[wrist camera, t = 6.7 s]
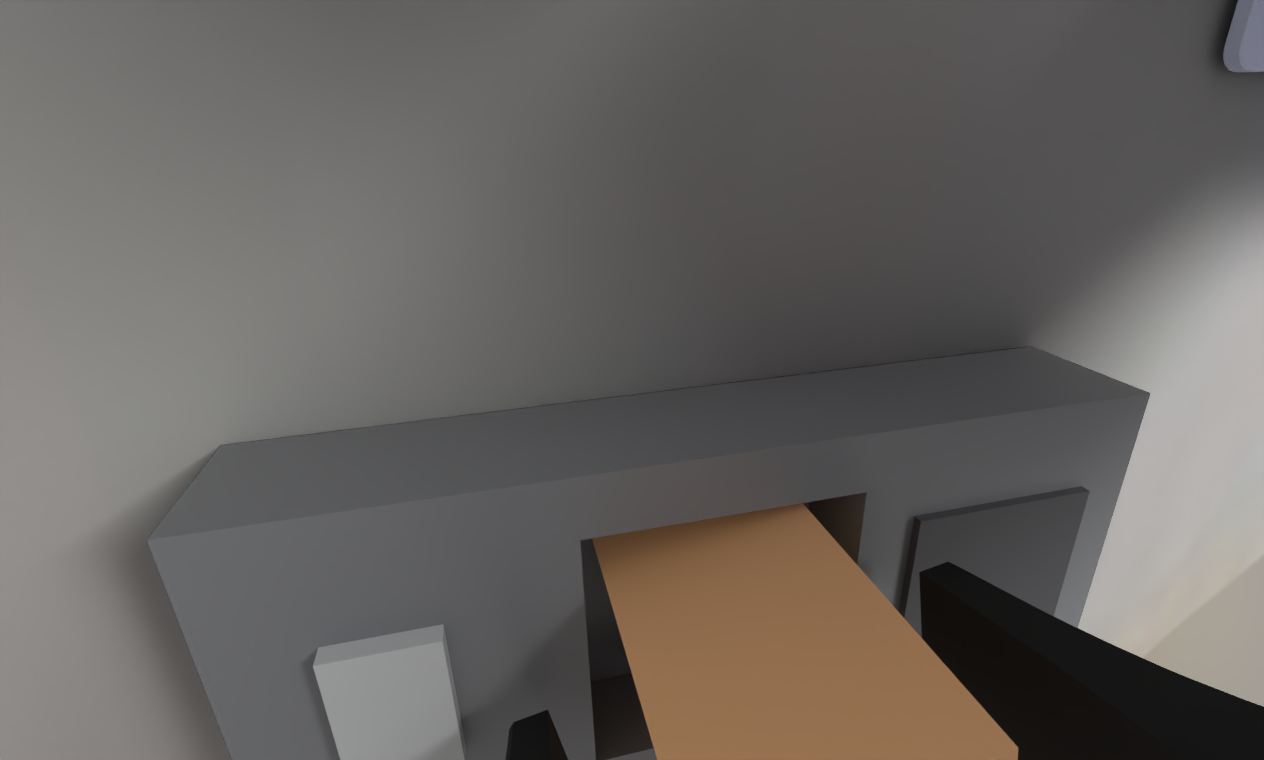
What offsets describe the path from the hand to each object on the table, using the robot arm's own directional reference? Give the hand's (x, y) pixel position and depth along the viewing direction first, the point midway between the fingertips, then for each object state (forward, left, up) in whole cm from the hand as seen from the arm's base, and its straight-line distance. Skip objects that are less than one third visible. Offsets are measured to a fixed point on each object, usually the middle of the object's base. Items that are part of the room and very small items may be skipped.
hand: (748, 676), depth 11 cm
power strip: (0, 0, -4) cm, 4 cm away
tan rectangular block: (0, 0, -3) cm, 3 cm away
